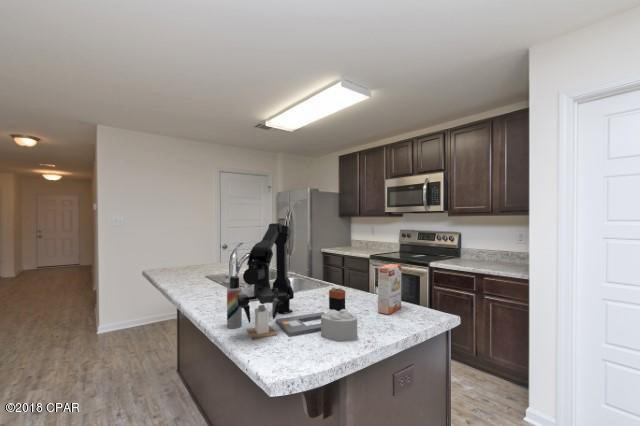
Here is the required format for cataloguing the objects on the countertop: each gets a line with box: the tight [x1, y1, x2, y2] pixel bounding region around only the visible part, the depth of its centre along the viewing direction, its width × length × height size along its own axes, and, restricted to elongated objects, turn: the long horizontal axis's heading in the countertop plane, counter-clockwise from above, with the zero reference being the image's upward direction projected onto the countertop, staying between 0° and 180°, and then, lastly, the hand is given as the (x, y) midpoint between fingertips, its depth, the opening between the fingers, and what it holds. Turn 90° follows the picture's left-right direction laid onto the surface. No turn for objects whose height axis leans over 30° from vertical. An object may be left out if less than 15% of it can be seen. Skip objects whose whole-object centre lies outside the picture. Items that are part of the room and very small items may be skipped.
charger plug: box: [254, 304, 270, 334], centre depth 116 cm, size 5×4×10 cm
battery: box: [328, 287, 346, 311], centre depth 146 cm, size 4×7×10 cm, turn 53°
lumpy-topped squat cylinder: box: [320, 308, 358, 342], centre depth 113 cm, size 10×13×9 cm
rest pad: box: [246, 324, 278, 340], centre depth 116 cm, size 10×9×1 cm
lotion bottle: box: [226, 275, 243, 329], centre depth 124 cm, size 6×6×20 cm
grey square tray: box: [274, 311, 326, 338], centre depth 124 cm, size 17×22×2 cm
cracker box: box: [377, 263, 402, 316], centre depth 143 cm, size 14×6×21 cm, turn 143°
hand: (261, 320), depth 116 cm, fingers open, 9 cm apart
